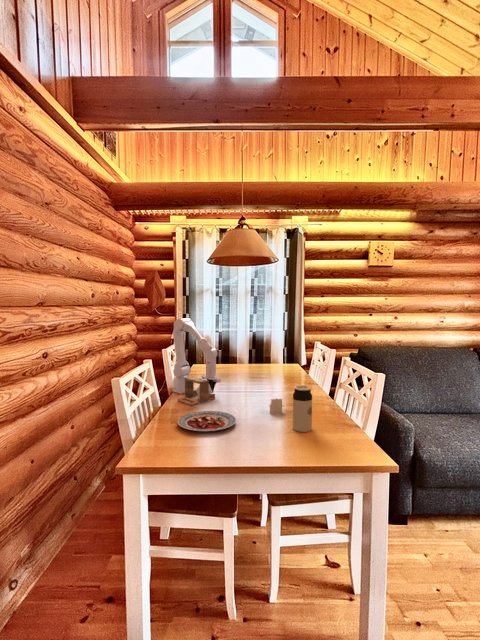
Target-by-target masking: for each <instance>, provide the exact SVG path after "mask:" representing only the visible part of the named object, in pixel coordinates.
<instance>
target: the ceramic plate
mask: <svg viewBox="0 0 480 640" xmlns="http://www.w3.org/2000/svg"><path fill="white" fill-rule="evenodd" d="M236 422H237V418H236V416H234V415H233V414H231V413H228V412H224V411H217V410H202V411H201V410H200V411H194V412H189V413H186V414H183V415H181V416H180V417H179V418H178V419H177V424H178V426H179V427H181V428H182V429H186V430H189V431H196V432H215V431H220V430H225V429H228V428H231V427H232V426H233V425H235V424H236Z"/></svg>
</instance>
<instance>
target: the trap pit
mask: <svg viewBox="0 0 480 640" xmlns="http://www.w3.org/2000/svg"><path fill="white" fill-rule="evenodd" d="M177 401H178V402H179V403H182V404H184V405H185V404H186V405H188V406H191V407H192V406H195V405H199V404H200V400H199V401H198V400H196V399H192V398H190V397H188V398H186V397H185V396H184V397H181V398H177Z"/></svg>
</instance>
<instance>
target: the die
mask: <svg viewBox="0 0 480 640" xmlns="http://www.w3.org/2000/svg"><path fill="white" fill-rule="evenodd" d="M195 390H196V392H197V394H198V395H197V397H198V398H199V399H200V384H199V385H198V386H197V388H196V389H195ZM209 394H213V393H212V389H211V387H210V384H209Z"/></svg>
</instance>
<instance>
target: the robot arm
mask: <svg viewBox="0 0 480 640" xmlns="http://www.w3.org/2000/svg"><path fill="white" fill-rule="evenodd" d="M194 324H195V323H194V322H193V321H192V319H191V318H189V317H185V318H177V319H175V321H174V322H173V331H172V336H173V343H174V352H175V359H176V362H175V364H174V365H173V367H174V368H173V375H174V377H173V380H172V384H173V385H172V387H173V388H172V390H171V391H172V392H173V393H174V392H175V393H177V394H181V395H182V394H185V378H186V377H190V374H191V371H192V369H191V366H190V364H189V362H188V361H187V360H186V351H185V342H184V337H183V336H184V333H185V332H189V333H190V334H191V336H192V337H193V338H194V339H195V340H196V342H197V343H196V344H197V347H199V348H200V350H201V351H202V353H203V357H204V358H205V374H202V375H201V379H204V380H208V381H209V384H210V387H211V389H212V393H211V394H214V390H215V387H216V385H217V383H221V382H222V380H221V378H220V377H218V376H217V357H218V354H219V353H218V349H217V348H215V347H214V346H213V345H211V344H210V342H209V340H208V338H205V337H202V335H201V334H200V332H199V331H198V329H197V328H196V326H195V325H194Z"/></svg>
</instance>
